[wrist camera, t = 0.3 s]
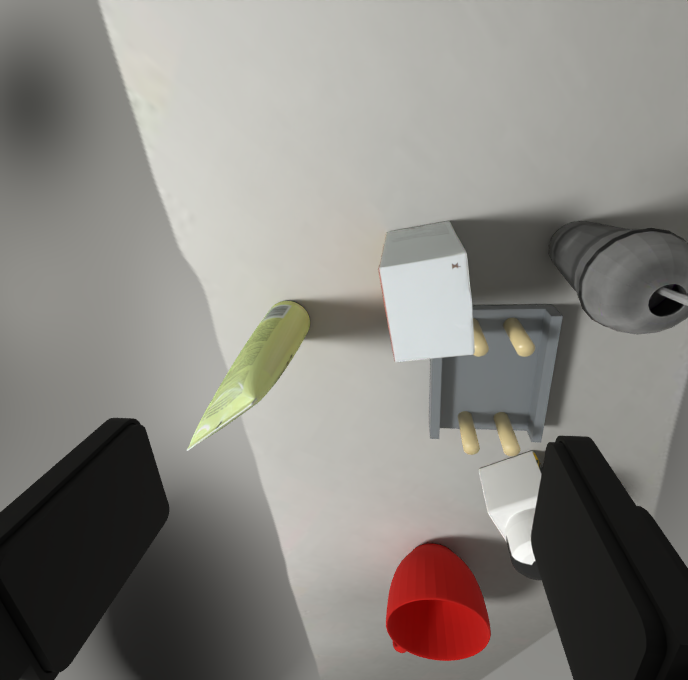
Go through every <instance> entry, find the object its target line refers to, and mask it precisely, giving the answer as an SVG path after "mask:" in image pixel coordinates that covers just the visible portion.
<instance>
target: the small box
mask: <svg viewBox="0 0 688 680" xmlns="http://www.w3.org/2000/svg"><path fill="white" fill-rule="evenodd" d="M378 269H379V276H380V282H381V288H382V294H383V300H384V305H385V311H386V317H387V323H388V328H389V333H390V339H391V345H392V350H393V356H394V361H395V362H404V361H413V360H422V359H433V358H443V357H454V356H464V355H473V354H474V353H475V345H474V329H473V310H472V295H471V289H470V280H469V269H468V259H467V252H466V251H465V249H464V247H463V245H462V243H461V241H460V239H459V238H458V236H457V234H456V233H455V231H454V229H453V227H452V225H451V223H450V221H446V222H440V223H435V224H429V225H424V226H419V227H413V228H407V229H401V230H396V231H390V232H387V233H386V237H385V243H384V247H383V251H382V256H381V261H380V265H379V268H378Z"/></svg>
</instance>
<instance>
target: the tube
mask: <svg viewBox="0 0 688 680" xmlns="http://www.w3.org/2000/svg"><path fill="white" fill-rule="evenodd" d="M309 327H310V319H309V315H308V313H307V312H306V310H305V309H304V308H303V307H302V306H301V305H299V304H297V303H295V302H291V301H282V302H279V303H277V304H275V305H274V306H273V307H272V308H271V309H270V310H269V312H268V313H267V314H266V316H265V317H264V319H263V320H262V321H261V323H260V324H259V326H258V327H257V328H256V330H255V331H254V333H253V334H252V336H251V337H250V339H249V340H248V342H247V343H246V345H245V346H244V348H243V349H242V351H241V352H240V354H239V355H238V357H237V359H236V360H235V362H234V363H233V365H232V367H231V368H230V370H229V372H228V373H227V375H226V377H225V378H224V380H223V382H222V383H221V385H220V387H219V389H218V391H217V392H216V394H215V396H214V397H213V399H212V401H211V402H210V404H209V406H208V408H207V409H206V411H205V413H204V415H203V417H202V419H201V421H200V423H199V425H198V427H197V429H196V431H195V433H194V435H193V438H192V440H191V443H190V446H189V447H188V449H187V451H189V450H190V449H191V448H192V447H194V446H195V445H197V444H198V443H199V442H201V441H202V440H204V439H206V438H207V437H209V436H211V435H213V434H214V433H216V432H217V431H219V430H220V429H222V428H223V427H225V426H226V425H228V424H229V423H230V422H232V421H233V420H235V419H236V418H237V417H239V416H240V415H242V414H243V413H245V412H246V411H247V410H249V409H250V408H252V407H253V406H254V405H256V404H257V403H258V402H259V401H260V400H261V399H262V398H263V397H264V396H265V395H266V394H267V393H268V391H269V390H270V389H271V388H272V387H273V385H274V384H275V383H276V382H277V380H278V379H279V378H280V376H281V375H282V373H283V372H284V370H285V369H286V367H287V366H288V364H289V363H290V361H291V360H292V358H293V356H294V355H295V353H296V352H297V350H298V348H299V347H300V345H301V343H302V341H303V340H304V338H305V336H306V334H307V332H308V330H309Z"/></svg>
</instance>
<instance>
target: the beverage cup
mask: <svg viewBox="0 0 688 680" xmlns="http://www.w3.org/2000/svg"><path fill="white" fill-rule="evenodd" d="M549 255H550V258H551V260H552V261H553V262H554V265H555V266H556V267H557V269H558V270H559V271H560V272H561V274H562V275H563V276H564V277H565V279H566V280H567V281H568V282H569V284H570V285H571V286H572V287H573V289H574V290H575V291H576V292H577V295H578V298H579V300H580V303H581V306H582V309H583V310H584V311H585V312H586V313H587V315H588V316H589V317H590V318H591V319H592V320H594V321H596V322H598V323H599V324H601V325H603V326H605V327H609V328H611V329H613V330H616V331H619V332H625V333H631V334H647V333H656V332H660V331H663V330H666V329H668V328H671V327H673V326H675V325H677V324H678V323H680V322H682V321H683V320H685V319H686V318H687V317H688V243H686V241H685V240H684V239H683V238H681V237H679V236H677V235H675V234H674V233H672V232H670V231H667V230H661V229H654V228H647V229H632V230H629V229H624V228H618V227H613V226H608V225H602V224H597V223H591V222H581V221H578V222H571V223H569V224H567V225H564V226H563V227H561V228H560V229H559V230H558V231H556V233H555V234H554V235H553V237H552V238H551V241H550V244H549Z"/></svg>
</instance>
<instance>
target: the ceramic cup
mask: <svg viewBox="0 0 688 680" xmlns="http://www.w3.org/2000/svg"><path fill="white" fill-rule="evenodd" d="M386 628H387V632H388V634H389V636H390V637H391V639H392V640H393V646H394V649H395V650H396V651H398V652H400V653H405V652H406V651H408V652H409V653H412V654H414V655H417V656H419V657H423V658H427V659H433V660H443V661H451V660H460V659H464V658H468V657H471V656H474V655H475V654H477V653H479V652H481V651H482V650H483V649H484V648H485V647H486V645H487V644H488V642H489V640H490V636H491V631H490V623H489V618H488V613H487V609H486V605H485V602H484V598H483V595H482V592H481V590H480V587H479V585H478V583H477V581H476V579H475V577H474V575H473V573H472V572H471V570H470V569H469V568H468V566H467V565H466V564H465V563H464V562H463V560H461V559H460V558H459V557H458V556H457V555H456V554H454V553H453V552H452V551H451V550H450V549H449V548H447V547H445V546H442V545H439V544H423V545H420V546H418V547H416V548H415V549H414V550H413V551H412V552H411V553H409V554H408V555H407V556H406V557H405V558H404V559H403V560H402V562H401V563H400V564H399V566H398V568H397V569H396V572H395V574H394V577H393V580H392V583H391V586H390V591H389V597H388V605H387V615H386Z"/></svg>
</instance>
